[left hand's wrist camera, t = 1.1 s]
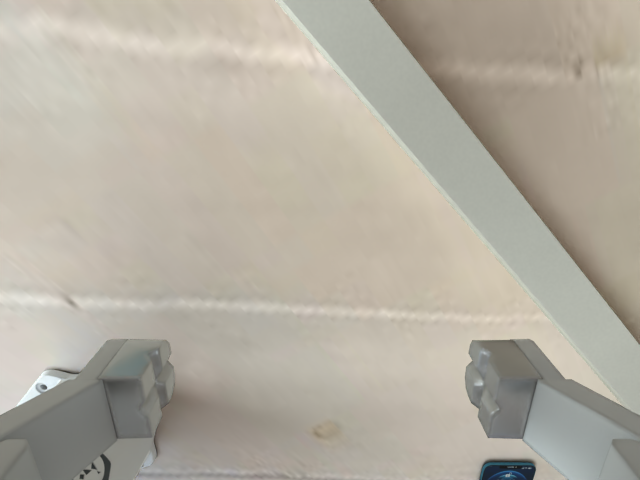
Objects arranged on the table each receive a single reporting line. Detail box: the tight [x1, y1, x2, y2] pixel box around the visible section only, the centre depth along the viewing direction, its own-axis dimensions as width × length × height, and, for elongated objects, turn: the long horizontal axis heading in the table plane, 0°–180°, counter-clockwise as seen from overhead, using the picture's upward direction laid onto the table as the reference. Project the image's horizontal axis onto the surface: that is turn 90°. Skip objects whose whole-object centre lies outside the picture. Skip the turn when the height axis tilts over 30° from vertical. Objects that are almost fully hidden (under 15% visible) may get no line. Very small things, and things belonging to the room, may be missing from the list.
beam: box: [275, 0, 640, 415], centre depth 42 cm, size 67×5×5 cm, turn 43°
